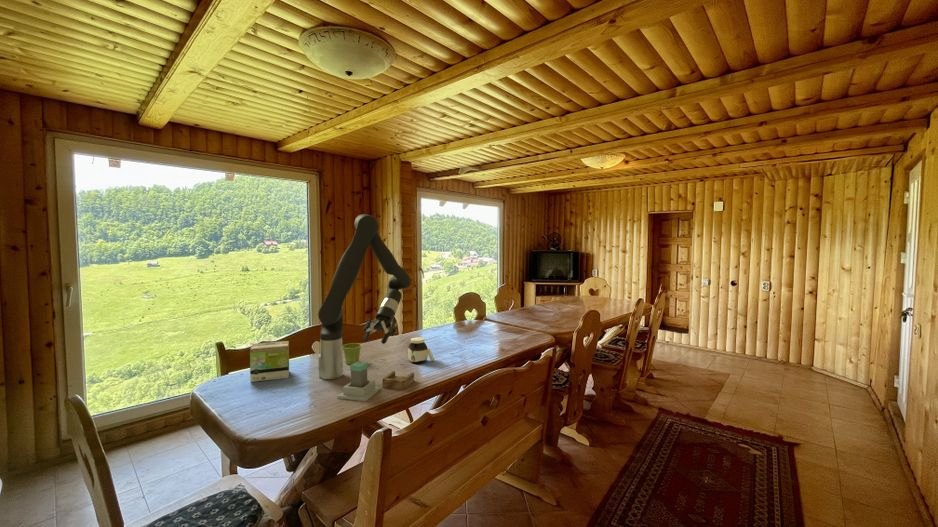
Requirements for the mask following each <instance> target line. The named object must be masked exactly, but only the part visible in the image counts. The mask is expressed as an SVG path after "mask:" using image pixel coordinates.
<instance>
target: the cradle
mask: <svg viewBox="0 0 938 527" xmlns="http://www.w3.org/2000/svg"><path fill="white" fill-rule="evenodd" d="M414 382H415V372H410V373H409V374H408V375H407V376H401V375H396V370H392V371H391V372H390V373H388V374H387V375H386V376H384V378H382V388H386V389H393V390H395V389H396V390H406V389H408V387H410V386H411V384H413V383H414Z"/></svg>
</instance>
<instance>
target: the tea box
mask: <svg viewBox="0 0 938 527" xmlns="http://www.w3.org/2000/svg"><path fill="white" fill-rule="evenodd" d="M249 374H250V383H255V382H261V381H262V382H263V381H270V380H271V381H272V380H280V379H288V378H289V376H290V341H289V340H285V341H283V340H282V341H272V342H258V343H252V345H251V347H250V349H249Z"/></svg>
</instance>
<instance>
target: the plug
mask: <svg viewBox="0 0 938 527" xmlns="http://www.w3.org/2000/svg"><path fill="white" fill-rule="evenodd" d="M368 365H369V364H368V362H365V361H359V362H355V363H353V364H349V369H350V382H351V387H361V388H363V387H364V386H366V385H367V380H368V369H369V368H368V367H369V366H368Z"/></svg>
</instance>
